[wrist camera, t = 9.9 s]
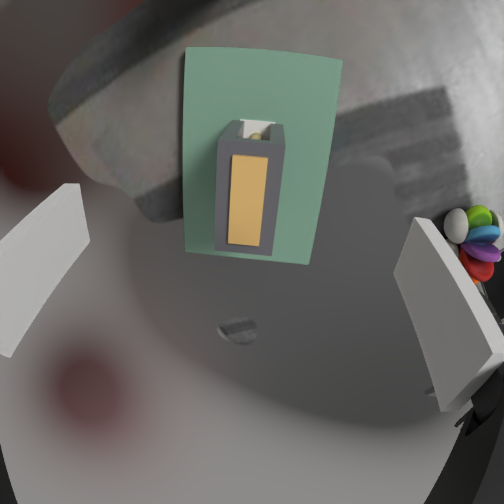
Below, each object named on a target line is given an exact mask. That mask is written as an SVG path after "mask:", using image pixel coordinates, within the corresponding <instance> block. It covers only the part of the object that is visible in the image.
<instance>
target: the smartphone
mask: <svg viewBox="0 0 504 504" xmlns="http://www.w3.org/2000/svg"><path fill="white" fill-rule="evenodd" d="M500 253H501V256H500V259H499V260H498V261H496V262H493V264H494V272H493V275H492V276H491V278H490V279H489V280H487V281H484V282H482V285H483V288H484V291H485V294H486V297H487V299H488V300H489V301H490V302H491V304H492V305H493V307H494V309H495V311H496V312H497V315H498V316H499V318H500V319H502V318H504V248H503V249H502V250H500Z"/></svg>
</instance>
